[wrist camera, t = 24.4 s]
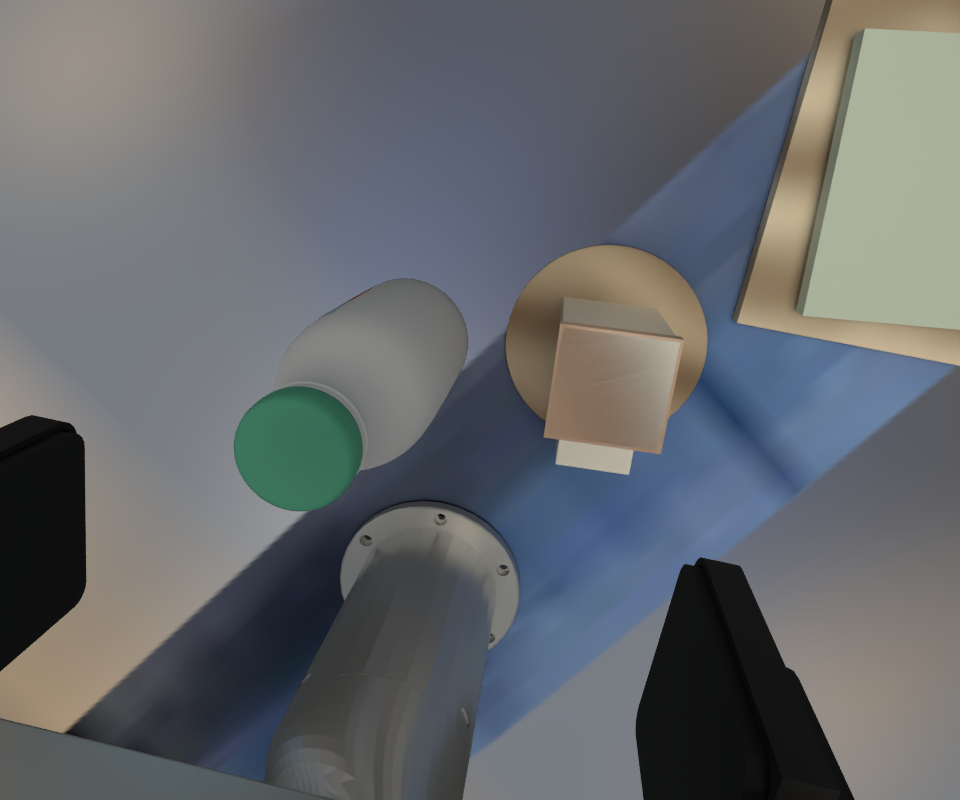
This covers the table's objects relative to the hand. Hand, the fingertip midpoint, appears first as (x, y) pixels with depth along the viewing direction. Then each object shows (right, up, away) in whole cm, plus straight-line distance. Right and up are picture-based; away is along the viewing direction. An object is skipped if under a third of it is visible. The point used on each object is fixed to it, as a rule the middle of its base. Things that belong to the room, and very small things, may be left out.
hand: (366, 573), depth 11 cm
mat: (+9, +6, +32) cm, 34 cm away
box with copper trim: (+9, +5, +32) cm, 34 cm away
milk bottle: (-3, +7, +34) cm, 34 cm away
